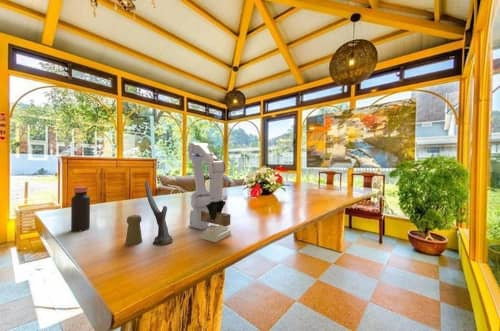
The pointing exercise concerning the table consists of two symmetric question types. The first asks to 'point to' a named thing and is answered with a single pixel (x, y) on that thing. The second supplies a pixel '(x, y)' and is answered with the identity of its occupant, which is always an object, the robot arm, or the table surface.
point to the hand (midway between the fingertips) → (215, 218)
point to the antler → (159, 220)
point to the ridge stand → (215, 233)
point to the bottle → (80, 210)
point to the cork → (133, 230)
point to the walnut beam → (219, 220)
